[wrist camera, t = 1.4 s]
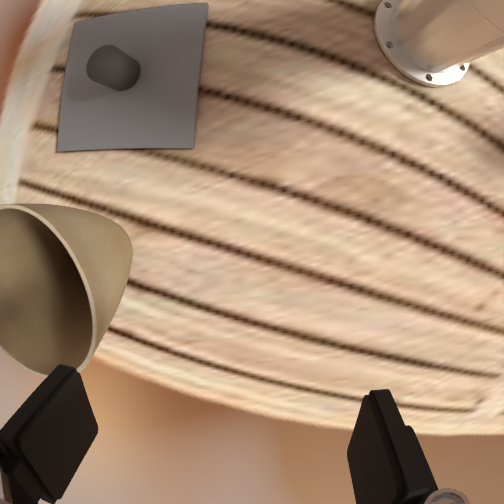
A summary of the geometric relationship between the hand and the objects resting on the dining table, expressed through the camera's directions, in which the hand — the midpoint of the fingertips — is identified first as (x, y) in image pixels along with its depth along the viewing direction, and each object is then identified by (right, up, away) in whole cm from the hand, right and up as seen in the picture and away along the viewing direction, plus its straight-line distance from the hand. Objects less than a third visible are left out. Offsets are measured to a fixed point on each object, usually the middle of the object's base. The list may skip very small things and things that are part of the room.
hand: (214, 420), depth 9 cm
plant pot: (-16, +6, +27) cm, 32 cm away
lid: (-13, +25, +22) cm, 35 cm away
